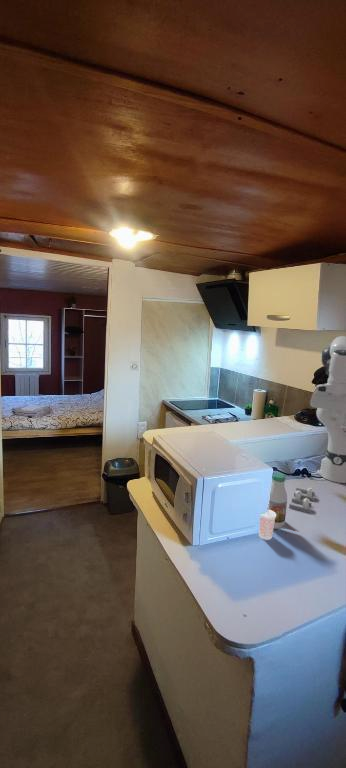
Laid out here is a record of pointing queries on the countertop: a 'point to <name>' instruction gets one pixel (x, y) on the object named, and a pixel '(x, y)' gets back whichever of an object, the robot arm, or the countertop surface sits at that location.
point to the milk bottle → (278, 500)
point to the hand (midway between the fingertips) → (333, 420)
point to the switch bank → (302, 501)
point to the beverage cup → (267, 524)
